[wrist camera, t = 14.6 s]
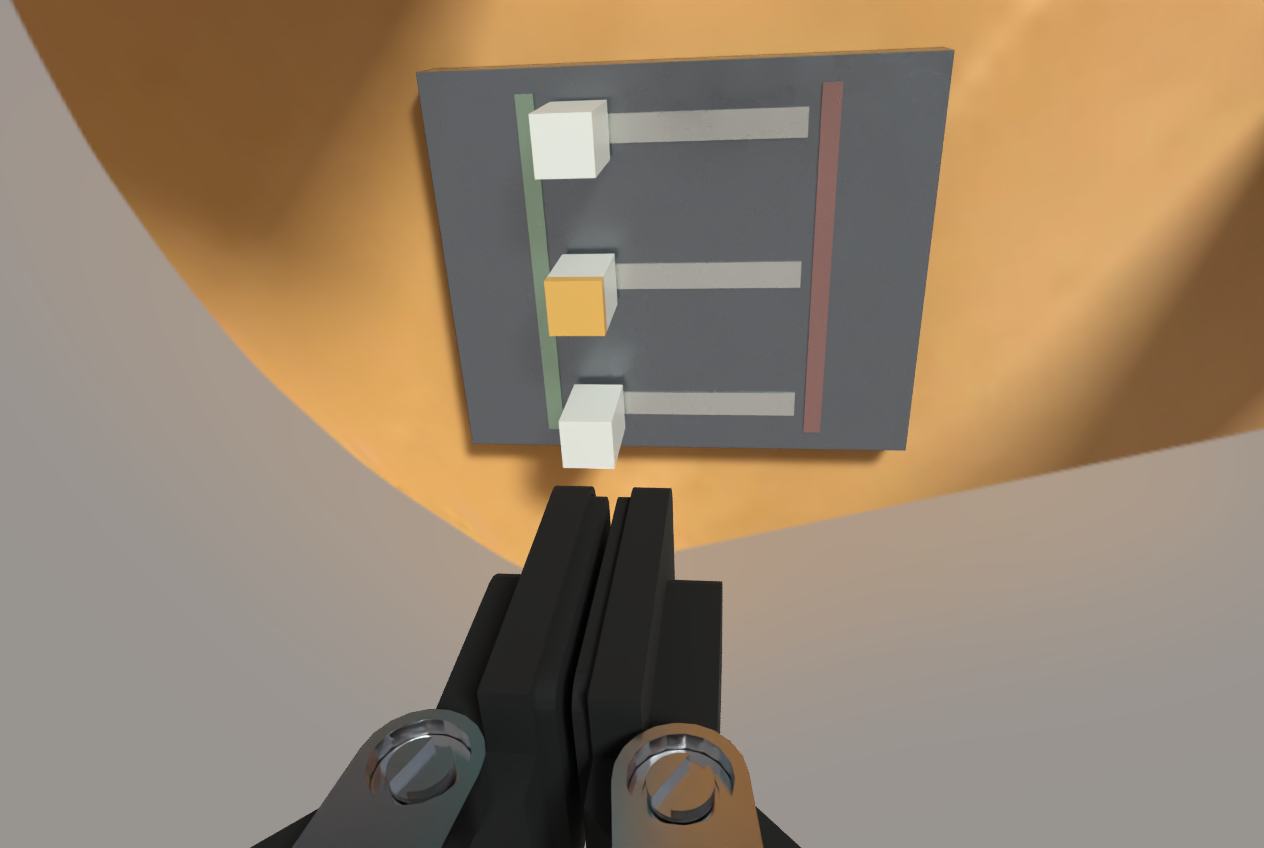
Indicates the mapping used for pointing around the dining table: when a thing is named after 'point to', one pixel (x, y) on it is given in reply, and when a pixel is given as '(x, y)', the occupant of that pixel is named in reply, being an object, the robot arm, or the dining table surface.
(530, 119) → the block
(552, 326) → the block
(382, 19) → the dining table surface
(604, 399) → the block
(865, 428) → the panel
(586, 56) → the dining table surface
